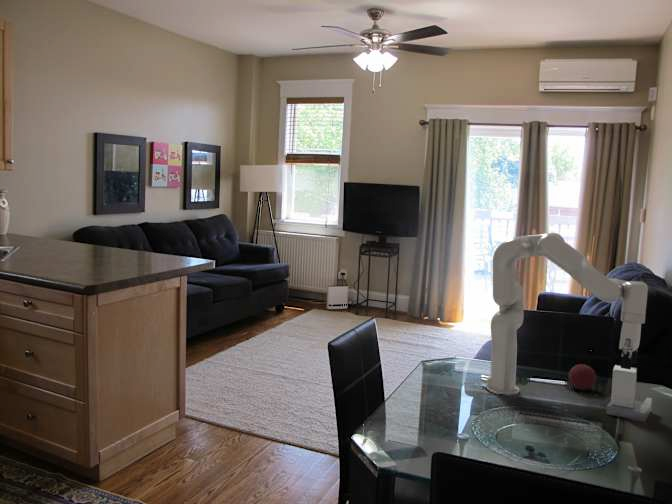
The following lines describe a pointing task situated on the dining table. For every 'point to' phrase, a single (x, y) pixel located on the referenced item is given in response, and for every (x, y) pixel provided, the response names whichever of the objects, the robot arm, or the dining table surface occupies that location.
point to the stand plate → (631, 410)
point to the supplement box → (623, 386)
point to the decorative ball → (582, 377)
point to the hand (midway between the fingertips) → (628, 365)
